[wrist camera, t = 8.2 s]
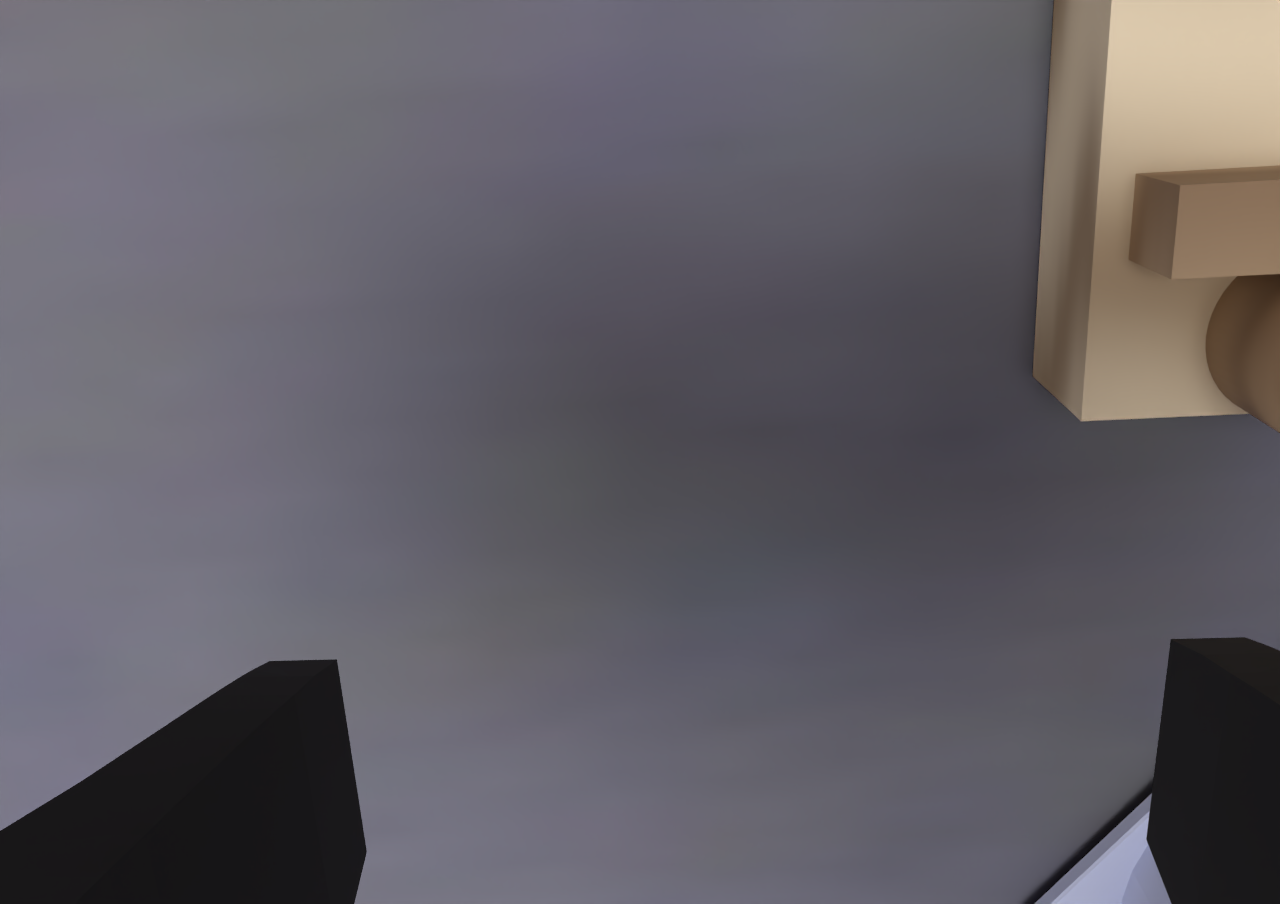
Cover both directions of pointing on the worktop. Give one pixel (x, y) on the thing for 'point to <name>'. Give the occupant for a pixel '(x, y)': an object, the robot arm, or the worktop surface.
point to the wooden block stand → (1162, 210)
